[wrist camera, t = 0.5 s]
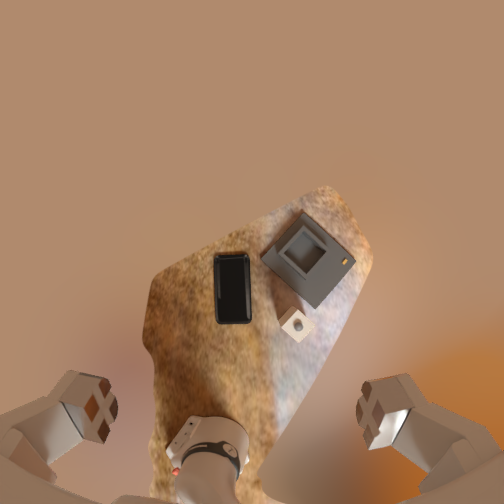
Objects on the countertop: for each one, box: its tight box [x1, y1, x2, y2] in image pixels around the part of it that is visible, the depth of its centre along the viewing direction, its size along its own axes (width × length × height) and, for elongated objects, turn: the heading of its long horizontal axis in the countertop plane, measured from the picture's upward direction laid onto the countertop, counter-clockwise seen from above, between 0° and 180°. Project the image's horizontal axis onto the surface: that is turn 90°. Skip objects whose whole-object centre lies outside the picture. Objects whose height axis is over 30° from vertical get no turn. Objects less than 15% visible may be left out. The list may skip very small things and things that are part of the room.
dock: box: [261, 213, 356, 309], centre depth 59 cm, size 14×16×4 cm
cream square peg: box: [278, 306, 315, 343], centre depth 54 cm, size 4×4×12 cm
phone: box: [214, 254, 252, 324], centre depth 61 cm, size 8×1×15 cm
